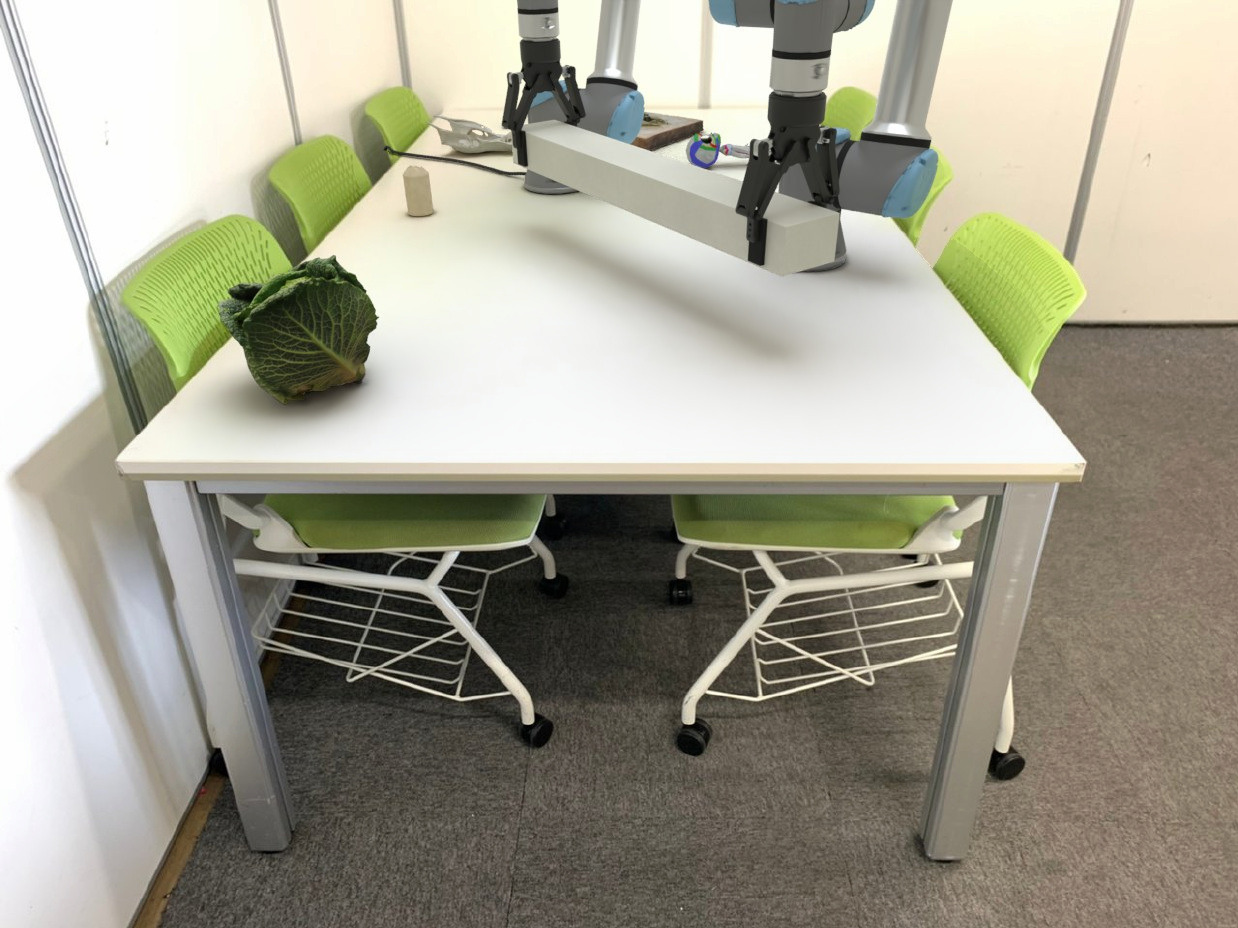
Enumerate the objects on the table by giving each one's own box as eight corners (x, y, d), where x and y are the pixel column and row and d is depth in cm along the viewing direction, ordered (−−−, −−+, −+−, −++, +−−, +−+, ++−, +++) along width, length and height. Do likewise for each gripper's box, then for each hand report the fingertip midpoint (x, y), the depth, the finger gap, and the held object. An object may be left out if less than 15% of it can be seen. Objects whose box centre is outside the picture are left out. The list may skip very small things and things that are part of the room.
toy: (810, 148, 223) (693, 134, 219) (802, 182, 228) (688, 169, 223) (799, 138, 232) (687, 125, 227) (792, 172, 236) (681, 159, 232)
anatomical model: (438, 112, 249) (525, 110, 245) (443, 146, 254) (528, 145, 250) (420, 123, 236) (511, 122, 233) (426, 159, 241) (515, 158, 238)
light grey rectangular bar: (513, 163, 180) (510, 126, 176) (556, 155, 184) (554, 119, 180) (781, 277, 124) (785, 226, 120) (834, 261, 129) (840, 213, 125)
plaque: (647, 125, 237) (559, 112, 252) (647, 153, 241) (560, 139, 256) (706, 107, 258) (622, 97, 273) (705, 133, 262) (622, 121, 277)
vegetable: (300, 411, 136) (210, 300, 128) (407, 340, 137) (324, 225, 129) (292, 446, 117) (186, 319, 110) (414, 364, 119) (318, 232, 111)
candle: (438, 210, 199) (432, 164, 194) (425, 217, 195) (419, 170, 189) (416, 208, 201) (410, 162, 195) (403, 215, 196) (396, 168, 191)
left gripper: (494, 46, 158) (505, 174, 170) (602, 34, 169) (605, 155, 181) (475, 42, 163) (487, 166, 175) (580, 30, 174) (585, 148, 186)
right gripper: (751, 107, 110) (741, 279, 122) (880, 85, 120) (859, 246, 132) (712, 97, 115) (706, 264, 127) (839, 77, 125) (822, 232, 137)
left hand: (546, 160), depth 178 cm, fingers closed on light grey rectangular bar, 10 cm apart
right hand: (784, 255), depth 129 cm, fingers closed on light grey rectangular bar, 10 cm apart
